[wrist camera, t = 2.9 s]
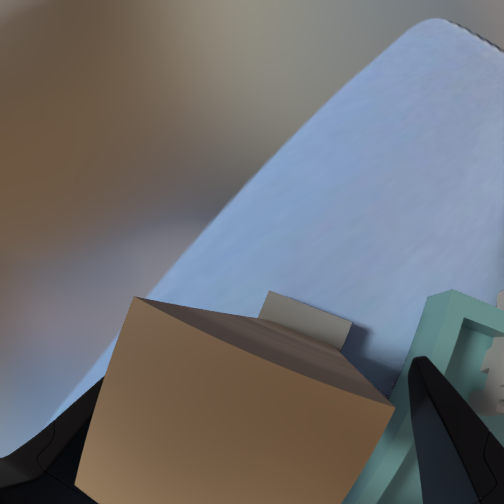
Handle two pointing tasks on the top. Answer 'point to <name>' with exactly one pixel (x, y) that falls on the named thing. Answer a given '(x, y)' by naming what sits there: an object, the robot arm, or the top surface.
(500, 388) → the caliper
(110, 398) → the tall tan wooden block
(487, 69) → the top surface
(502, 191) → the top surface
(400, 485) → the tray
